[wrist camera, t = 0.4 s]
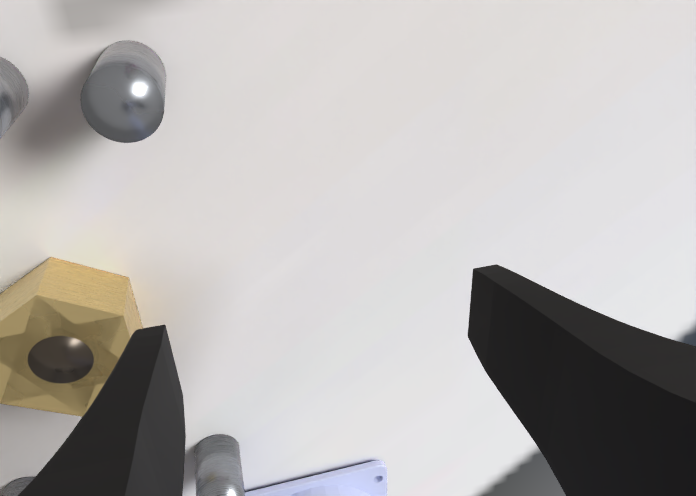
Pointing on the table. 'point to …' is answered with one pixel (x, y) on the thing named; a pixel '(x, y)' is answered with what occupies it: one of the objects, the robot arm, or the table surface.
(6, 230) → the table surface
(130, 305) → the nut
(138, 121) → the metal pins
